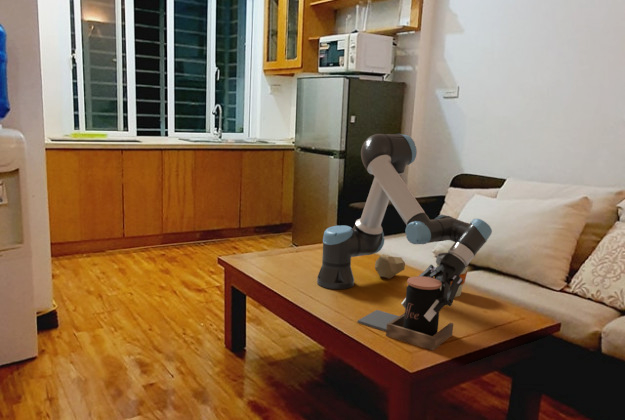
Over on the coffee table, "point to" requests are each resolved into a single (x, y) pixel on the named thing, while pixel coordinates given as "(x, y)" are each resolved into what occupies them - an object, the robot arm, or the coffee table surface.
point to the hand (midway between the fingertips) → (414, 312)
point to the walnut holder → (417, 334)
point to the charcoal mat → (377, 319)
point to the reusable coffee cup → (462, 275)
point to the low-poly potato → (389, 266)
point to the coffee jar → (421, 304)
